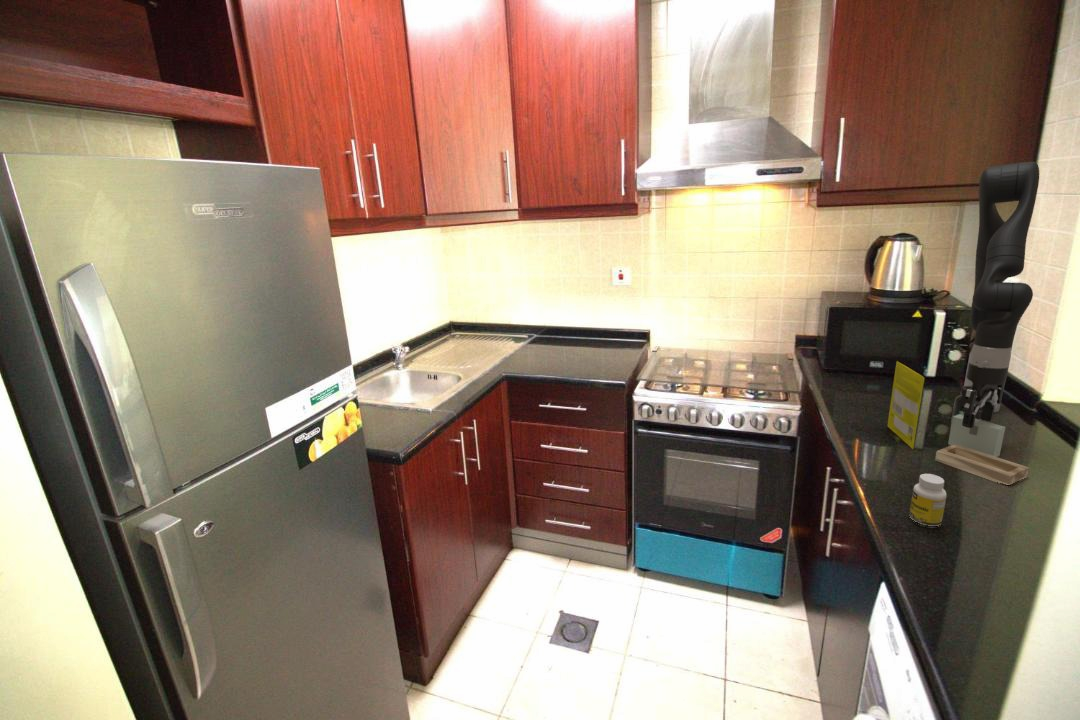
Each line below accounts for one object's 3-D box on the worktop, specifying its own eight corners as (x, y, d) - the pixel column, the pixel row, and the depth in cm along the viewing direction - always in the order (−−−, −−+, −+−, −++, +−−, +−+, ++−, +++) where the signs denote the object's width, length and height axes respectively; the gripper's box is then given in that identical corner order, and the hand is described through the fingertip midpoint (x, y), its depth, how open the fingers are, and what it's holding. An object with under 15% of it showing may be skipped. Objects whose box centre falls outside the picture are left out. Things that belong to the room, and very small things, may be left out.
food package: (915, 449, 134) (926, 377, 129) (910, 449, 135) (921, 377, 129) (889, 426, 149) (898, 360, 143) (885, 426, 149) (894, 360, 144)
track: (953, 452, 132) (954, 443, 131) (1026, 477, 119) (1028, 467, 118) (935, 460, 128) (936, 451, 128) (1008, 486, 115) (1010, 476, 115)
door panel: (954, 441, 138) (959, 414, 136) (999, 455, 129) (1005, 426, 127) (947, 444, 136) (952, 416, 134) (992, 459, 128) (998, 429, 126)
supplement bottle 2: (962, 433, 142) (970, 393, 138) (944, 424, 148) (951, 385, 145) (987, 432, 142) (995, 392, 138) (968, 423, 148) (975, 384, 145)
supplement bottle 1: (902, 514, 107) (908, 472, 105) (926, 512, 108) (933, 470, 105) (923, 529, 102) (930, 486, 100) (948, 527, 103) (956, 483, 100)
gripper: (986, 355, 133) (975, 413, 137) (955, 363, 127) (944, 424, 131) (1022, 362, 126) (1009, 423, 130) (991, 371, 120) (978, 434, 124)
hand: (976, 423), depth 131 cm, fingers open, 8 cm apart
